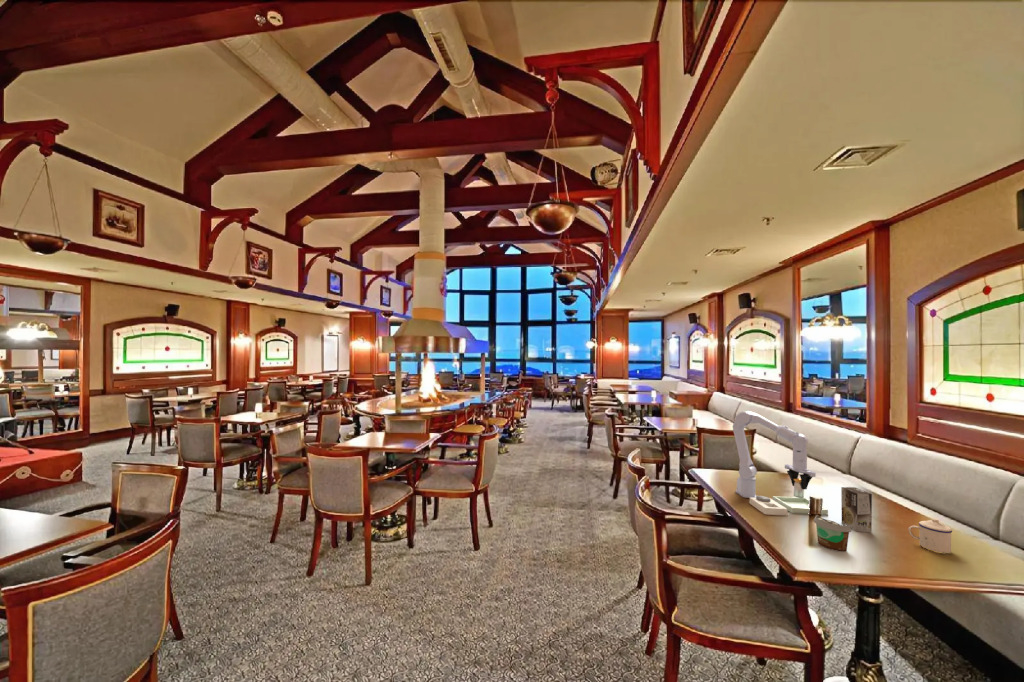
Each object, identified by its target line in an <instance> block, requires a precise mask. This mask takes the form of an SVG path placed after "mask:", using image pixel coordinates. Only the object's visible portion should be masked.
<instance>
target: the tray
mask: <svg viewBox="0 0 1024 682" xmlns="http://www.w3.org/2000/svg"><path fill="white" fill-rule="evenodd" d="M772 500H774V501H775V502H777V503H779V504H780V505H782V506H783V507H785V508H787V509H788V510H787V512H790V513H791V514H793V515H794V514H795V515H797V514H798V515H809V514H808V513H809V511H810V508H809V507H808V504H809V500H810V499H808V498H807V497H804V498H798V497H794V496H774V495H773V496H772ZM828 515H829V511H828V509H827V508H826V507H823V506H822V510H821V515H820V516H828Z"/></svg>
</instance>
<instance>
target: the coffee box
mask: <svg viewBox="0 0 1024 682" xmlns="http://www.w3.org/2000/svg"><path fill="white" fill-rule="evenodd" d="M840 494H841V495H840V496H841V525H843V526H850V528H851V530H854V531H856V532H861V533H863V532H865V533H872V532H873V531H872V528H873V527H872V525H873V523H872V520H873V519H872V518H873V516H872V514H873V512H872V511H873V510H872V509H873V507H872V506H873V496H872V495H873V494H872V493H871V492H867V491H865V490H863V489H860V488H859V487H858V488H857V487H854V486H853V487H852V486H847V487H846V486H845V487H841V493H840Z"/></svg>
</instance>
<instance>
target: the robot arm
mask: <svg viewBox="0 0 1024 682" xmlns="http://www.w3.org/2000/svg"><path fill="white" fill-rule="evenodd" d="M749 424H760V425H761V426H764V427H765V428H768V429H769V430H772V431H774V432H775V434H776V436H778V437H780V438H782V439H783V440H785V441H787V442H790V443H791V444H792V465H791V464H784V469H785V470H787V471H786V472H787V475H788V476H789V478H790V481H791V484H792V486H793V487H794V478H799V477H800V479H801V482H802V489H804V490H807V489H808V485H809V484H810V482H811V480H812V479H813V478H814V477H815V478H816V476H817V475H816V474H817V473H816V472H815V471H812V470H809V469H808V450H807V449H808V448H807V447H808V445H807V444H808V443H809V439H808V437H807V436H806V435H805V434H804V433H800V432H799V431H794V429H793V430H792V429H791V428H789V426H788V425H784V424H783V425H779V424H776V423H774V422H773V421H771V420H769V419H767V418H765V417H764V416H762V415H761V414H758V413H756V412H753V411H752V410H749V409H748V410H745V411H741V412H739V413H738V414H736V416H735V419H734V422H733V424H732V431H733V434H734V435H733V436H734V441H735V444H736V445H735V446H736V449H737V453H738V458H739V463H738V466H739V470H738V474H739V476H738V477H737V480H736V490H735V491H734V492H735V493H736V494H738V495H739V496H741V497H742V498H745V499H746V498H749V499H750V497H753V498H756V496H757V495H756V489H757V488H756V482H757V481H756V480H757V478H756V475H757V473H758V470H757V468H756V467H755V465H754V462H753V461H752V458H751V455H750V454H751V453H750V450H749V445H748V441H747V437H746V432H745V429H746V427H747V426H748V425H749Z"/></svg>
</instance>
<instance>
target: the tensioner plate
mask: <svg viewBox="0 0 1024 682" xmlns="http://www.w3.org/2000/svg"><path fill="white" fill-rule="evenodd" d="M749 504H750V505H752V507H754V508H756V510H758V511H760V512H761V513H762V514H764V515H769V516H771V515H772V516H788V509H787V508H785V507H783V506H782V505H780V504H779V503H777V502H775V501H774V500H773V498H770V497H768V496H764V495H756V498H753V497H750V498H749Z"/></svg>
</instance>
